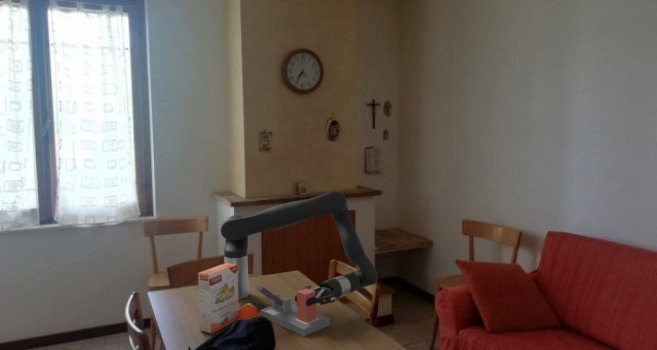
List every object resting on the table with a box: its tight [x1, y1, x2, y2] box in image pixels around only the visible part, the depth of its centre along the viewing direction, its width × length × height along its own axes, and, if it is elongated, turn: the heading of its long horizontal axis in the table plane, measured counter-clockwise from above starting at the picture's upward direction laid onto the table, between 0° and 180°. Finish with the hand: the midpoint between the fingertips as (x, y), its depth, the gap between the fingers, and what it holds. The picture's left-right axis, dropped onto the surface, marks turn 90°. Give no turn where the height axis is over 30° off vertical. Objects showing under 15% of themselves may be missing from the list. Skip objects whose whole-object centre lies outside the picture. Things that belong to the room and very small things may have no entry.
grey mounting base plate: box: [259, 292, 331, 337], centre depth 176 cm, size 24×12×8 cm, turn 45°
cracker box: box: [197, 262, 240, 335], centre depth 173 cm, size 14×6×21 cm, turn 148°
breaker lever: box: [255, 284, 283, 307], centre depth 177 cm, size 4×2×14 cm
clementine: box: [239, 302, 259, 321], centre depth 175 cm, size 8×7×7 cm
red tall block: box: [296, 288, 317, 323], centre depth 171 cm, size 5×5×10 cm
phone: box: [250, 302, 266, 313], centre depth 185 cm, size 7×1×15 cm
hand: (301, 301), depth 169 cm, fingers open, 5 cm apart
